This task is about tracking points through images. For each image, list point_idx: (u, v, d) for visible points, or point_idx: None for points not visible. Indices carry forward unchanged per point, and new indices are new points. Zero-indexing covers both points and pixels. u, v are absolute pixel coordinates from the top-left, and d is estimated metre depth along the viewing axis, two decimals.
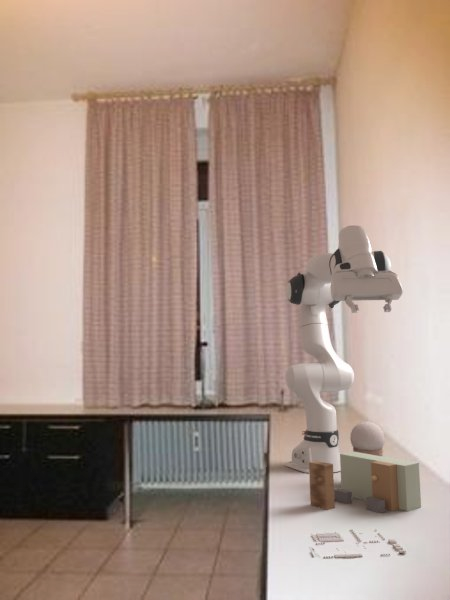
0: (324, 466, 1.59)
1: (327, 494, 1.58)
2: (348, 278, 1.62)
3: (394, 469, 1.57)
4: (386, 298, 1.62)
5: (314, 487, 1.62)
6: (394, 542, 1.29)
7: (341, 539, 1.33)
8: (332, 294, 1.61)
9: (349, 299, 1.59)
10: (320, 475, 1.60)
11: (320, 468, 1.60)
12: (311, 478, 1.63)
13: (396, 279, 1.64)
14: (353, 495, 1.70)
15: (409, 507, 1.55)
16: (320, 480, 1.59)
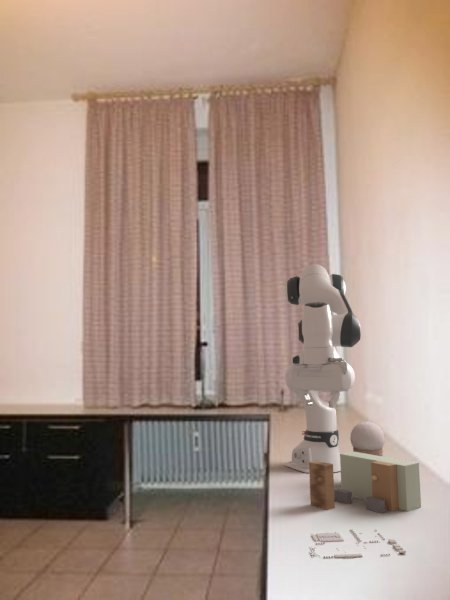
0: (324, 466, 1.59)
1: (327, 494, 1.58)
2: (302, 371, 1.67)
3: (394, 469, 1.57)
4: None
5: (314, 487, 1.62)
6: (394, 542, 1.29)
7: (341, 539, 1.33)
8: None
9: (302, 394, 1.68)
10: (320, 475, 1.60)
11: (321, 469, 1.60)
12: (311, 478, 1.63)
13: (338, 373, 1.56)
14: (353, 495, 1.70)
15: (409, 507, 1.55)
16: (320, 480, 1.59)
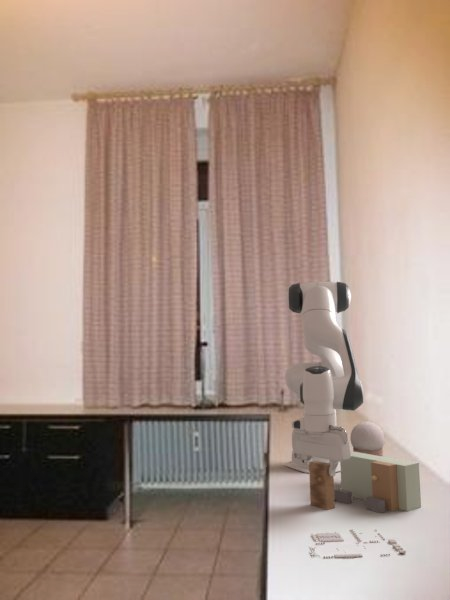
0: (324, 466, 1.59)
1: (327, 494, 1.58)
2: (303, 435, 1.66)
3: (394, 469, 1.57)
4: None
5: (314, 487, 1.62)
6: (394, 542, 1.29)
7: (341, 539, 1.33)
8: None
9: (305, 458, 1.66)
10: (320, 475, 1.60)
11: (320, 468, 1.60)
12: (311, 478, 1.63)
13: (338, 443, 1.54)
14: (353, 495, 1.70)
15: (409, 507, 1.55)
16: (320, 480, 1.59)
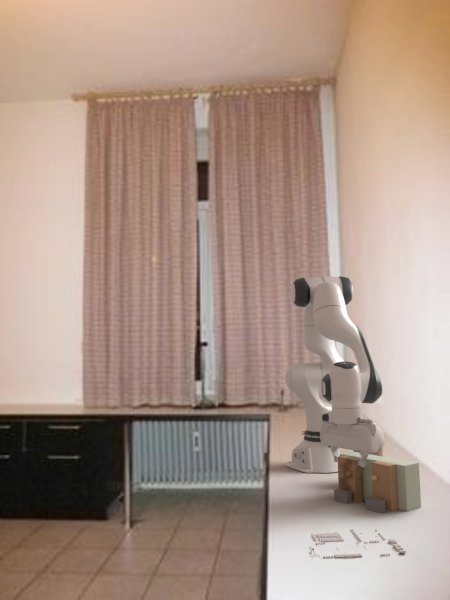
0: (353, 460, 1.66)
1: (356, 487, 1.65)
2: (331, 428, 1.73)
3: (394, 469, 1.57)
4: None
5: (343, 480, 1.68)
6: (394, 542, 1.29)
7: (341, 539, 1.33)
8: None
9: (331, 450, 1.73)
10: (349, 469, 1.67)
11: (349, 463, 1.67)
12: (339, 472, 1.70)
13: (367, 435, 1.61)
14: None
15: (409, 507, 1.55)
16: (349, 474, 1.65)
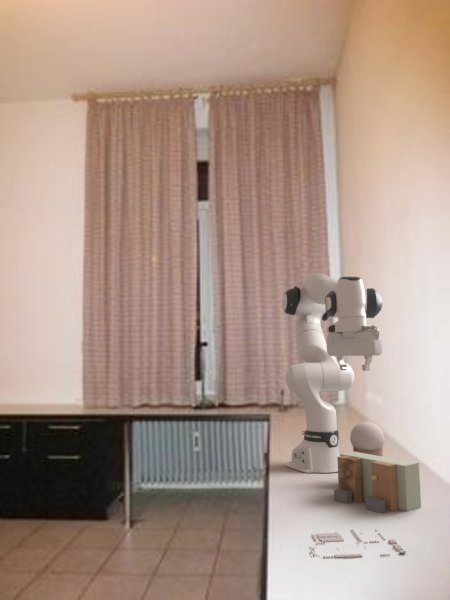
0: (353, 460, 1.66)
1: (356, 487, 1.65)
2: (337, 338, 1.84)
3: (394, 469, 1.57)
4: None
5: (343, 480, 1.68)
6: (394, 542, 1.29)
7: (341, 539, 1.33)
8: None
9: (337, 359, 1.85)
10: (349, 469, 1.67)
11: (349, 463, 1.67)
12: (339, 472, 1.70)
13: (371, 339, 1.73)
14: None
15: (409, 507, 1.55)
16: (349, 474, 1.65)
